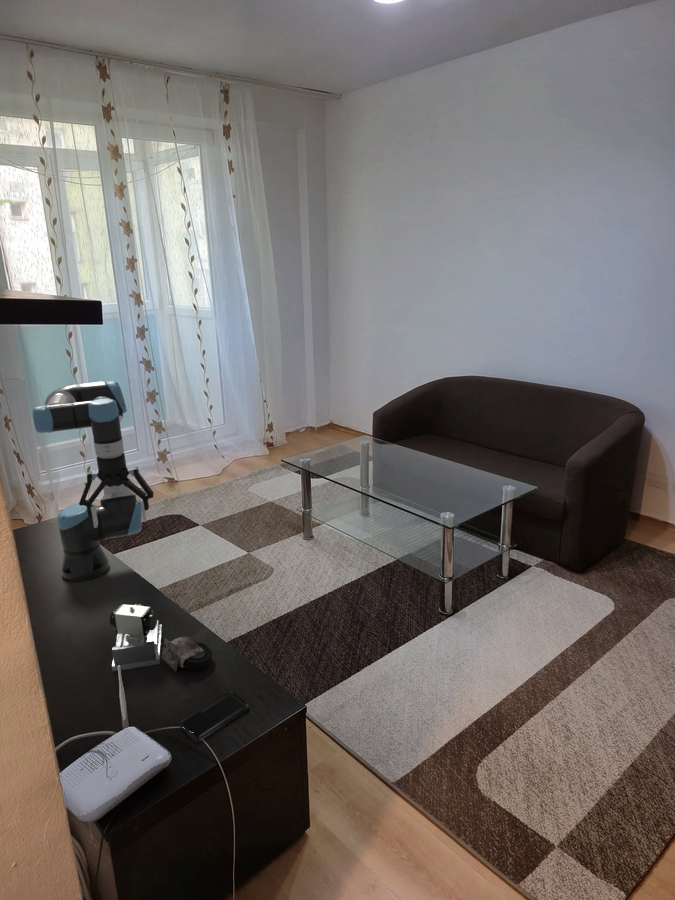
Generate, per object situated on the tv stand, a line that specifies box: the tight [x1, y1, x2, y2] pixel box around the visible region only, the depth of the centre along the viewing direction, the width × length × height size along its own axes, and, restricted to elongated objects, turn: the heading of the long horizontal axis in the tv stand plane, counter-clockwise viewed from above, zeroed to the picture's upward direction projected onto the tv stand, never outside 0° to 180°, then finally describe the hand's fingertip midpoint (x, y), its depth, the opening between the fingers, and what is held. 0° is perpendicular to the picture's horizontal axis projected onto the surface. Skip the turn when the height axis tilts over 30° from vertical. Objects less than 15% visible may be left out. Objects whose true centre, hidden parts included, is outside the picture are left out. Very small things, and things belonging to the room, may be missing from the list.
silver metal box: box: [111, 619, 163, 672], centre depth 170 cm, size 16×12×6 cm
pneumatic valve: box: [109, 603, 158, 645], centre depth 169 cm, size 6×12×12 cm, turn 79°
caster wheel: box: [161, 636, 213, 673], centre depth 164 cm, size 7×11×10 cm
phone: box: [179, 691, 249, 743], centre depth 146 cm, size 8×1×15 cm
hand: (120, 523), depth 180 cm, fingers open, 13 cm apart
